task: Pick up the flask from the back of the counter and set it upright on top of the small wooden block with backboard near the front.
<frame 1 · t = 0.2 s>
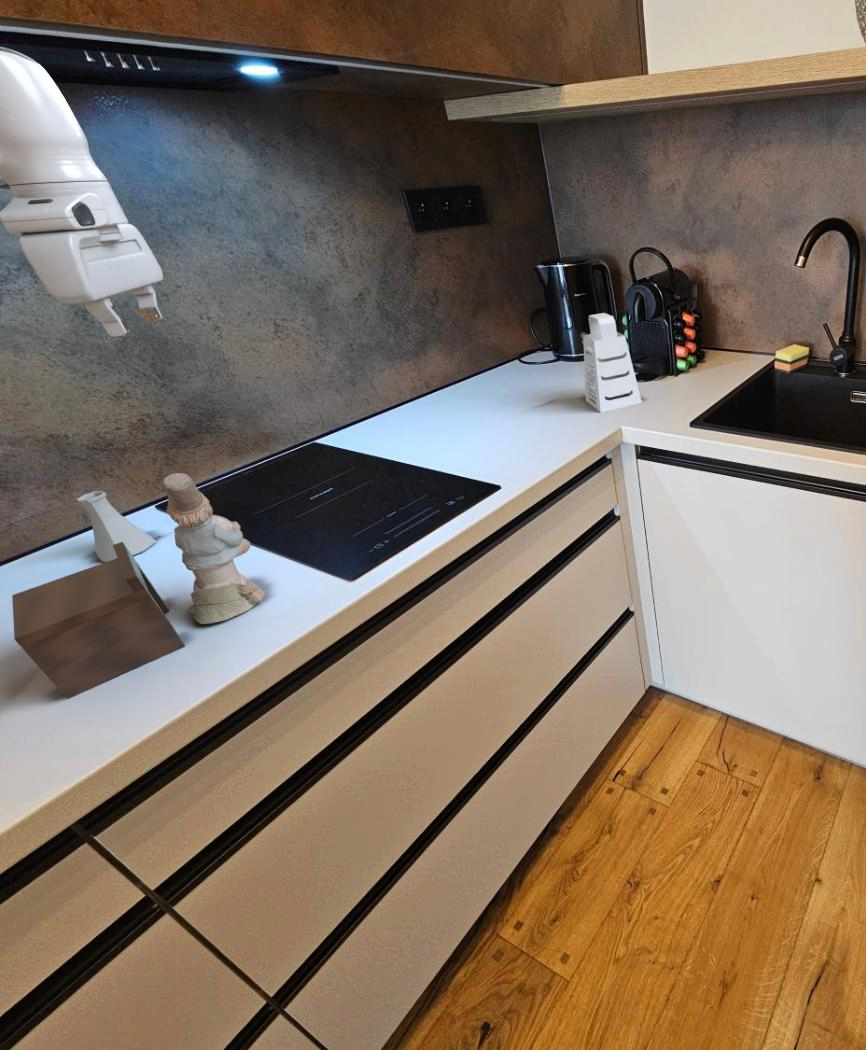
hand: (138, 327, 78), 33 cm above the worktop, tool pointing down, fingers open, 8 cm apart
grater: (613, 402, 141), on the worktop
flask: (128, 551, 94), on the worktop
wooden block with backboard: (122, 649, 73), on the worktop
figurine: (236, 605, 80), on the worktop
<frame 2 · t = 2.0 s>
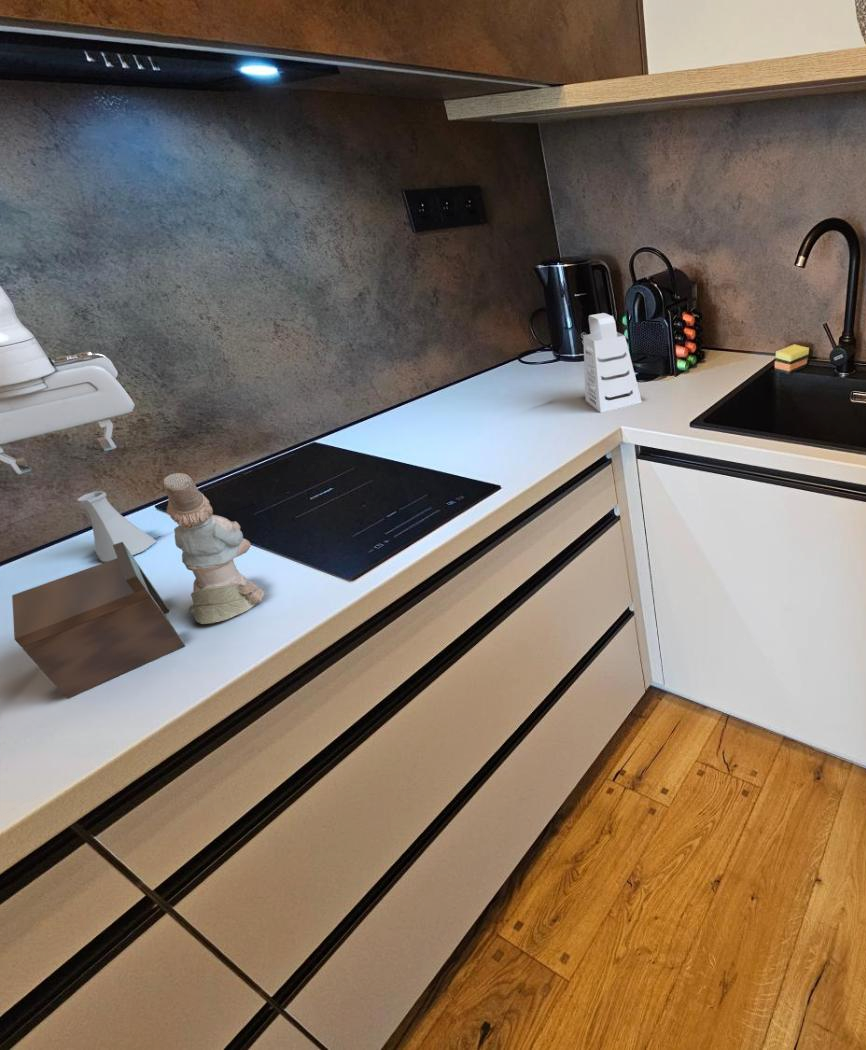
hand: (69, 460, 86), 16 cm above the worktop, tool pointing down, fingers open, 8 cm apart
nothing on the worktop moved.
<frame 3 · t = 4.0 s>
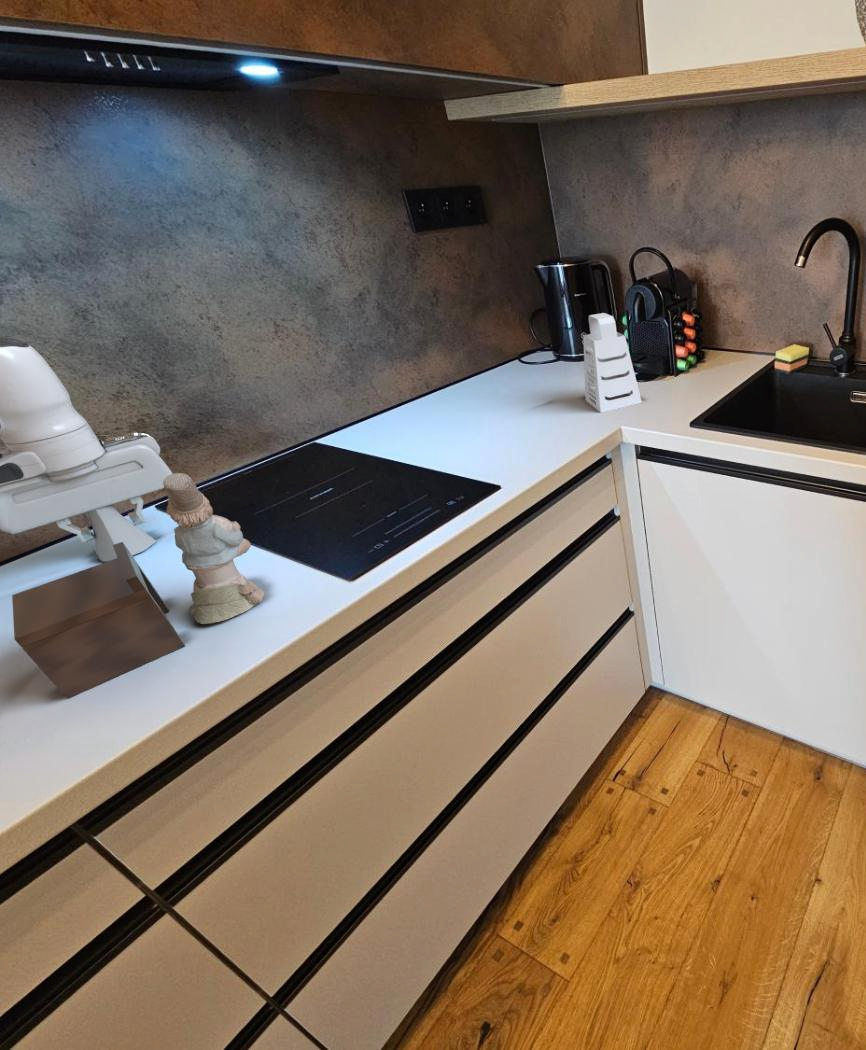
hand: (114, 531, 92), 4 cm above the worktop, tool pointing down, fingers closed on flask, 5 cm apart
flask: (128, 551, 94), on the worktop, touching gripper
everything else where it was.
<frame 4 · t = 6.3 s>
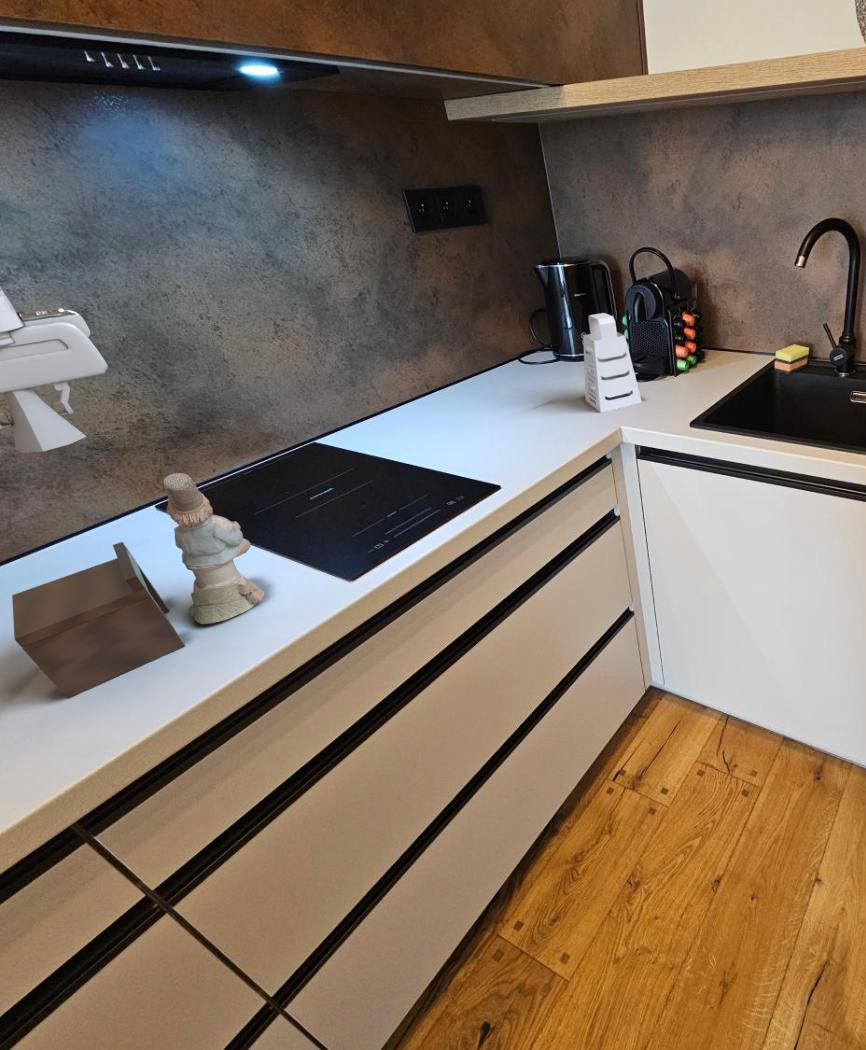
hand: (36, 420, 82), 22 cm above the worktop, tool pointing down, fingers closed on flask, 5 cm apart
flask: (54, 445, 84), point 18 cm above the worktop, touching gripper
everything else where it was.
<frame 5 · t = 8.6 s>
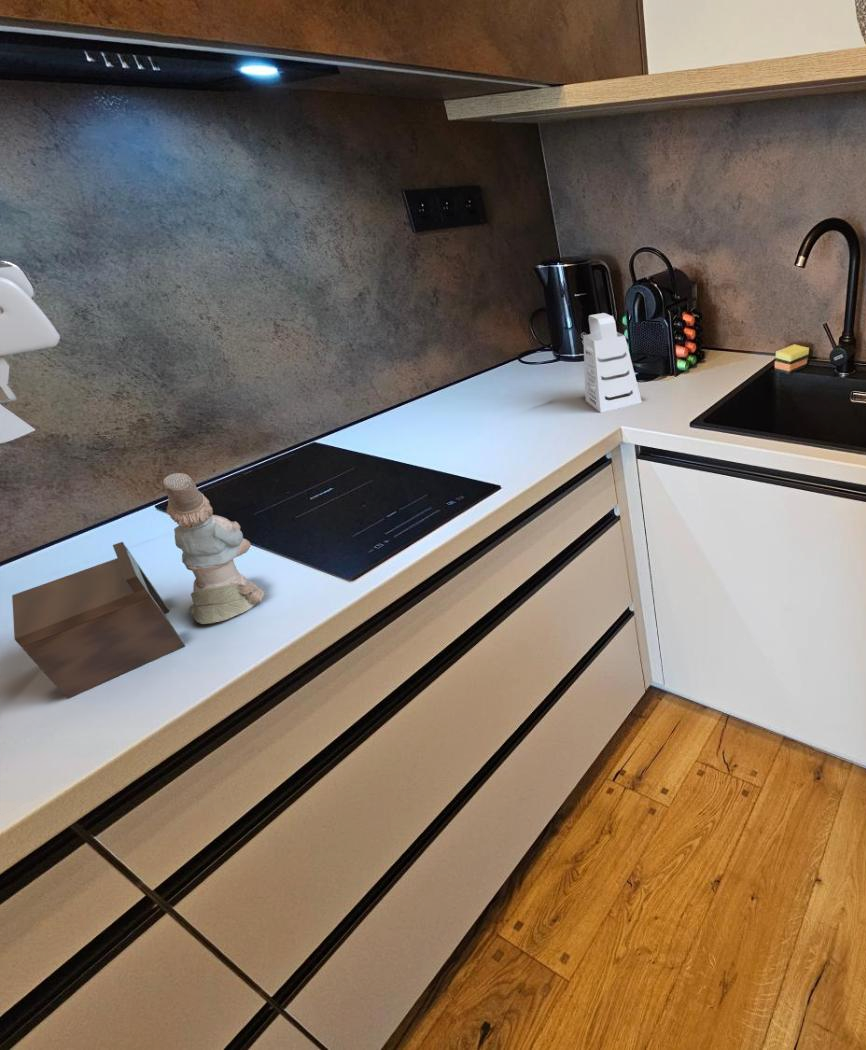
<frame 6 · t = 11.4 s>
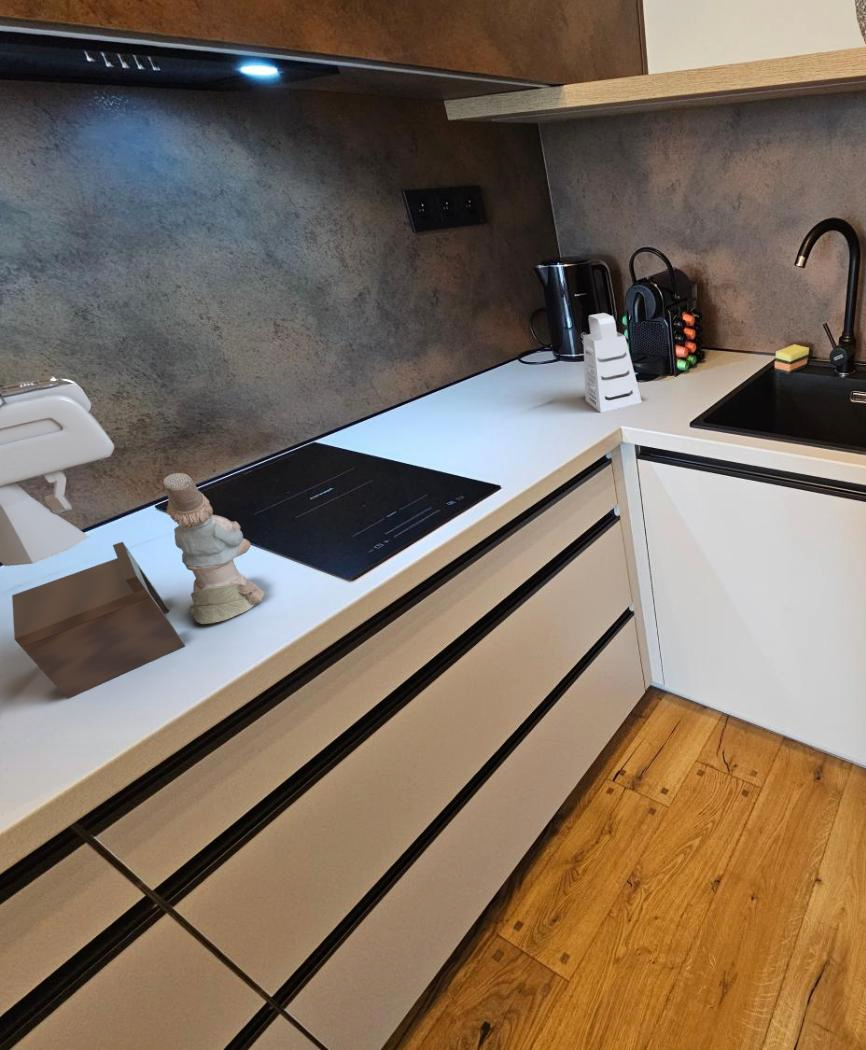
hand: (24, 522, 63), 19 cm above the worktop, tool pointing down, fingers closed on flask, 5 cm apart
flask: (47, 551, 65), point 15 cm above the worktop, touching gripper
everything else where it was.
when the fingers open (13 cm above the worktop, at t = 13.3 s): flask stays where it is, resting on wooden block with backboard.
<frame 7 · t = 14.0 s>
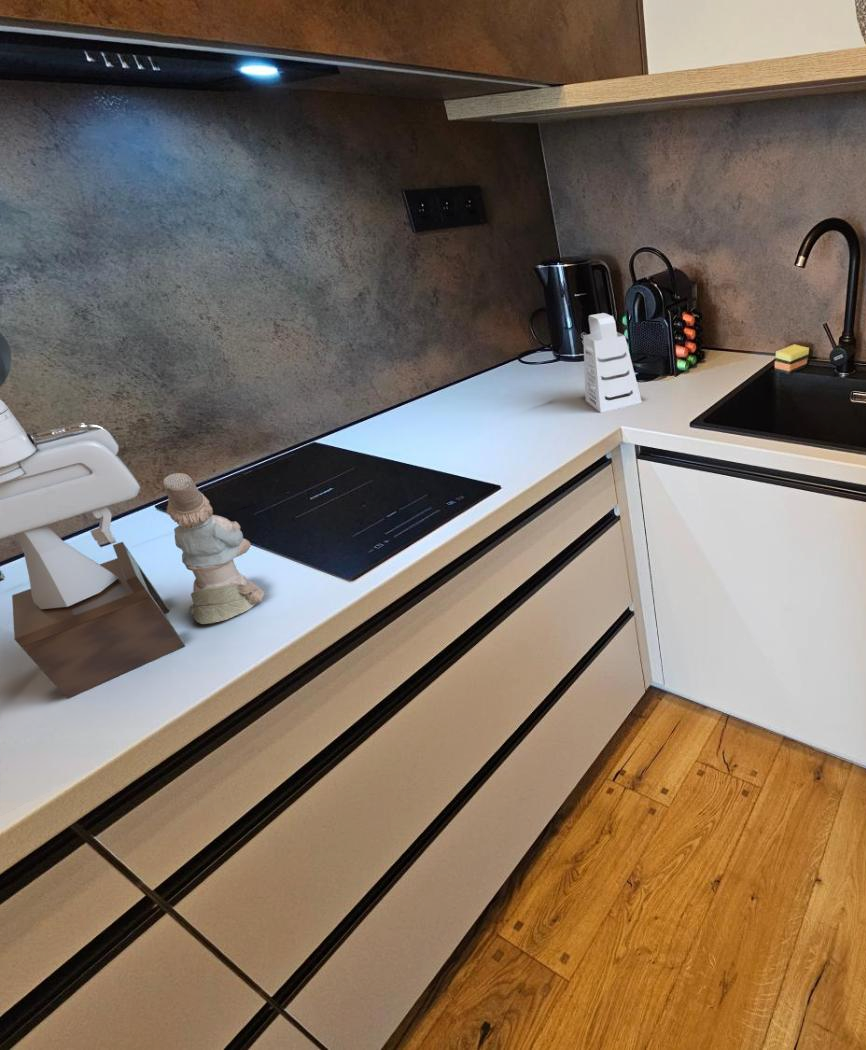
hand: (54, 561, 66), 13 cm above the worktop, tool pointing down, fingers open, 8 cm apart
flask: (79, 592, 68), point 9 cm above the worktop, touching wooden block with backboard
everything else where it was.
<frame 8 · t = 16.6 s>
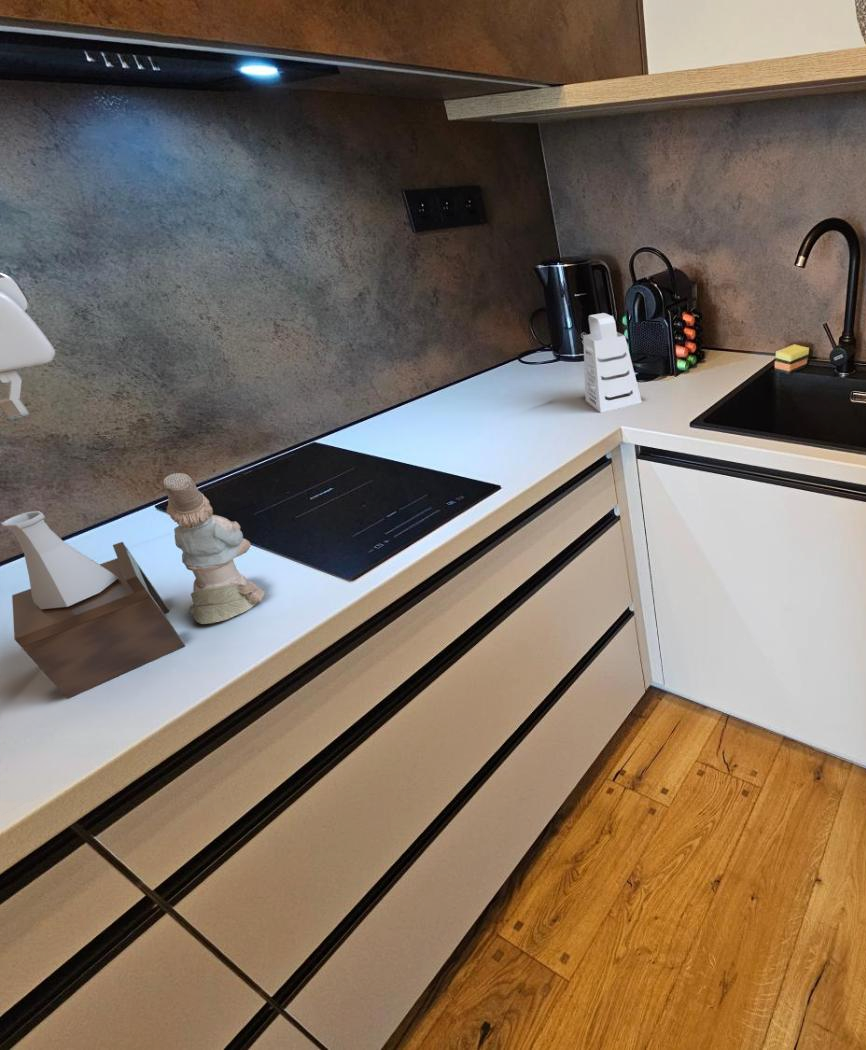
nothing on the worktop moved.
at the end: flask inside the target area on the wooden block with backboard (0.1 cm from its centre), point 8.8 cm above the wooden block with backboard's base; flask tilted 0° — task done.
